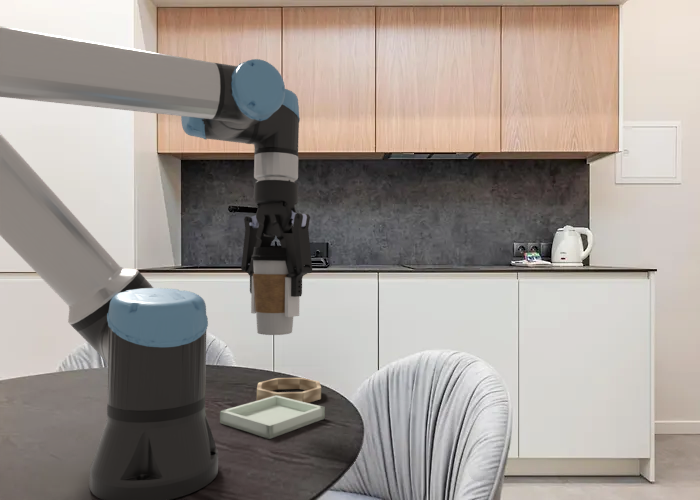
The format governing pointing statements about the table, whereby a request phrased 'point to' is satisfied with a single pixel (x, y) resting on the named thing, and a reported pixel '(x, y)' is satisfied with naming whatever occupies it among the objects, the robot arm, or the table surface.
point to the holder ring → (307, 396)
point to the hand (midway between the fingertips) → (274, 314)
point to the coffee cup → (270, 290)
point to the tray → (272, 416)
